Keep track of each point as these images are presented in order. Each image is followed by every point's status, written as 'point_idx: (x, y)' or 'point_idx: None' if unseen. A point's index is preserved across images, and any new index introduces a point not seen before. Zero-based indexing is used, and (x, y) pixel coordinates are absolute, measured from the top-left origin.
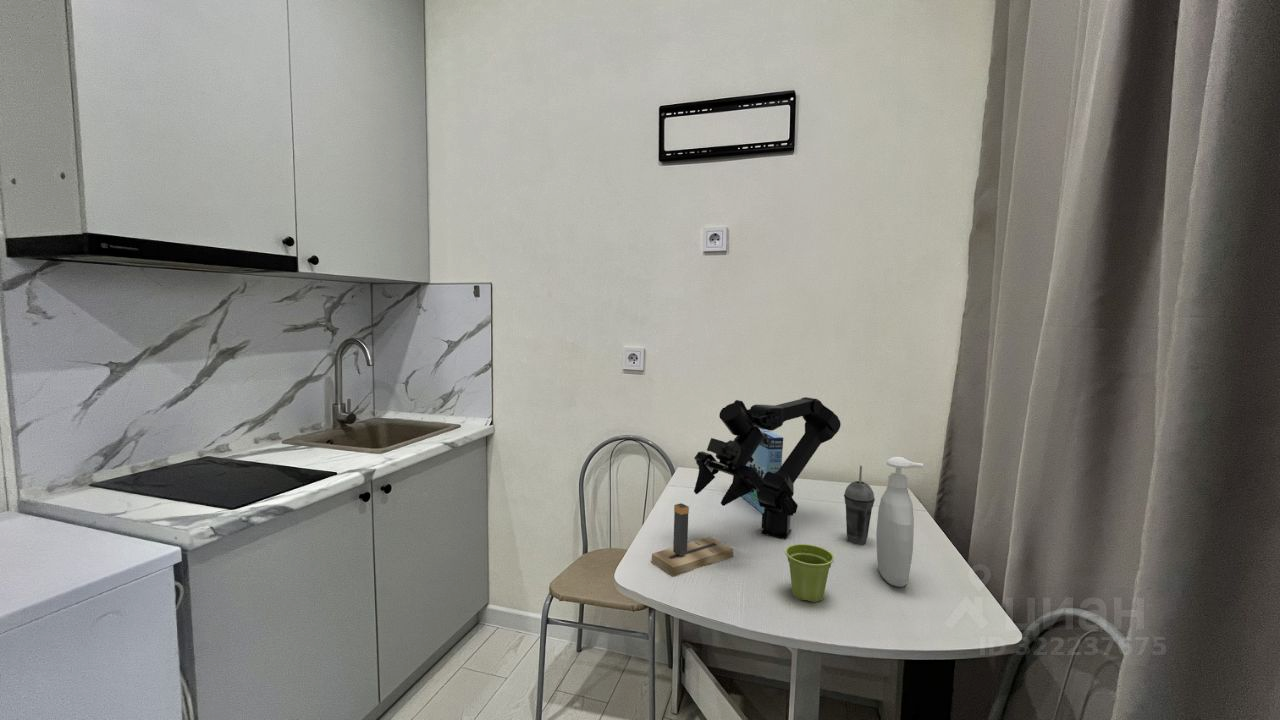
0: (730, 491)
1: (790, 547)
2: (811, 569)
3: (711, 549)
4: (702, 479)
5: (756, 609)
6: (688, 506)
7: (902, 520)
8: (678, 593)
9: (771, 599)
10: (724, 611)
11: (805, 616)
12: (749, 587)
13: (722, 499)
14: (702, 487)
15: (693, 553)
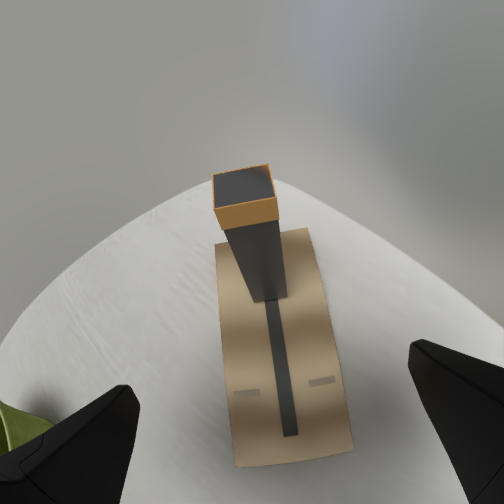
0: (45, 431)
1: (8, 444)
2: None
3: (260, 400)
4: (481, 417)
5: (59, 330)
6: (216, 208)
7: None
8: (162, 236)
9: (62, 378)
10: (83, 279)
11: (21, 380)
12: (103, 378)
13: (113, 396)
14: (439, 419)
15: (261, 331)
